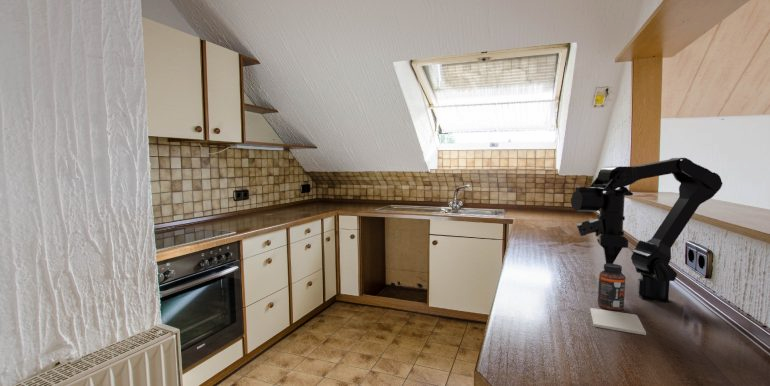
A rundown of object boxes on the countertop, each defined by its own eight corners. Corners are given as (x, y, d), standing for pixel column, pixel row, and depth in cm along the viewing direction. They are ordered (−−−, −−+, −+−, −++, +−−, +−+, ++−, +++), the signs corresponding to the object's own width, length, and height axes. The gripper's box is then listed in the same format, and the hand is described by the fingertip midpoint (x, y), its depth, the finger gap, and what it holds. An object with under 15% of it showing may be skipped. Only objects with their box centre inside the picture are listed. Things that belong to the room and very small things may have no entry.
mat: (636, 317, 91) (636, 314, 91) (645, 335, 81) (646, 332, 81) (590, 310, 95) (590, 307, 95) (593, 326, 85) (593, 323, 85)
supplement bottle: (624, 313, 94) (626, 269, 93) (597, 308, 97) (599, 265, 96) (623, 306, 99) (626, 264, 98) (597, 301, 102) (600, 261, 101)
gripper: (577, 206, 115) (575, 256, 116) (580, 213, 98) (577, 270, 99) (619, 209, 110) (617, 260, 111) (630, 215, 94) (626, 276, 95)
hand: (608, 266), depth 104 cm, fingers closed
